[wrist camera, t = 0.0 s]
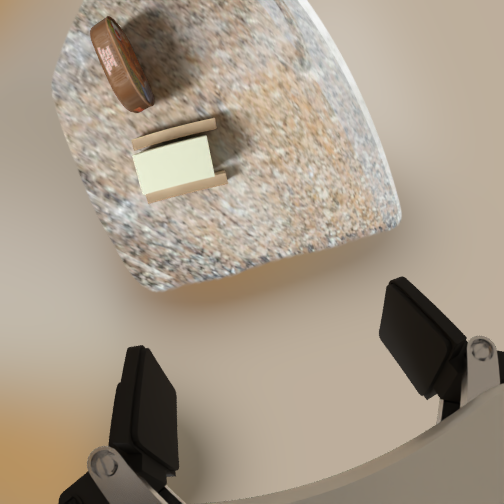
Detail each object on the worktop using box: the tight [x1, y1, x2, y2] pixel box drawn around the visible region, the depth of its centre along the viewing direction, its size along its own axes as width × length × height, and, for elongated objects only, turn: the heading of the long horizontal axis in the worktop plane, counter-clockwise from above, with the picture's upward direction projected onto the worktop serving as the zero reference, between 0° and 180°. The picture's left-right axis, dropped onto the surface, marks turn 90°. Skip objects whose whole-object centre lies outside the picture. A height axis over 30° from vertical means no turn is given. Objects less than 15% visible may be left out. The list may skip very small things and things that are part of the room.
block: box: [133, 135, 215, 195], centre depth 32 cm, size 5×9×6 cm, turn 100°
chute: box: [132, 118, 228, 204], centre depth 34 cm, size 9×11×2 cm
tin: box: [90, 16, 154, 113], centre depth 24 cm, size 15×3×8 cm, turn 23°
